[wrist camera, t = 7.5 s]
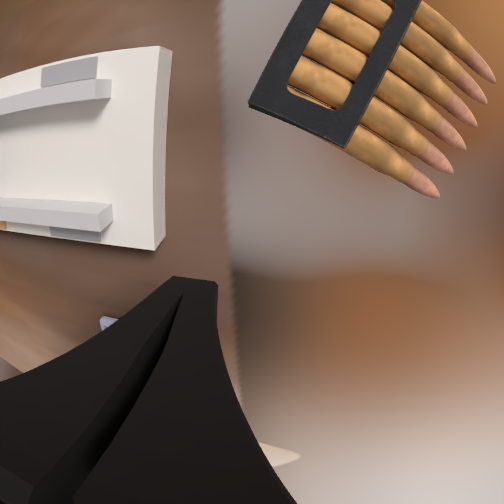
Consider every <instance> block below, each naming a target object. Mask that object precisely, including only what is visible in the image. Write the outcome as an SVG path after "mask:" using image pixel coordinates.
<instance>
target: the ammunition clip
mask: <svg viewBox="0 0 504 504" xmlns="http://www.w3.org/2000/svg"><path fill="white" fill-rule="evenodd" d="M444 47H445V48H446V49H448V50H450V51H451V52H453V53H454V54H455V55H456V56H457V57H458V58H460V59H461V60H463V61H464V62H465V63H466V64H467V65H468V66H469V67H470V68H471V69H473V70H474V71H475V72H476V73H477V74H479V75H480V76H482V77H483V78H484V79H486V80H487V81H489V82H491V83H494V84H496V79H495V77H494V75H493V73H492V71H491V69H490V68H489V66H488V65H487V63H486V62H485V61H484V60H483V58H482V57H481V56H480V55H479V54H478V53H477V52H476V51H475V50H474V49H473V48H472V46H471V45H470V44H469V43H468V42H467V41H466V40H465V39H464V38H463V37H462V36H461V34H460V33H459V32H458V31H457V29H456V28H455V27H454V26H453V25H452V24H450V23H449V22H448V21H447V20H446V19H445V18H443V17H442V16H441V15H440V14H439V13H437V12H436V11H435V10H434V9H432V8H431V7H429V6H428V5H427V4H426V3H425V2H423V1H422V0H302V1H301V3H300V5H299V6H298V8H297V10H296V12H295V13H294V15H293V17H292V19H291V20H290V22H289V24H288V26H287V27H286V29H285V31H284V33H283V35H282V37H281V39H280V40H279V42H278V44H277V46H276V48H275V50H274V51H273V53H272V55H271V57H270V59H269V61H268V63H267V65H266V67H265V69H264V71H263V72H262V74H261V77H260V78H259V80H258V82H257V84H256V86H255V88H254V90H253V92H252V94H251V96H250V99H249V100H248V103H249V107H250V108H252V109H255V110H257V111H260V112H263V113H265V114H267V115H270V116H272V117H275V118H278V119H280V120H282V121H284V122H287V123H289V124H292V125H294V126H296V127H298V128H301V129H303V130H305V131H307V132H309V133H311V134H313V135H315V136H317V137H318V138H320V139H322V140H324V141H326V142H328V143H330V144H332V145H333V146H335V147H337V148H339V149H341V150H342V151H344V152H346V153H348V154H349V155H351V156H353V157H355V158H356V159H358V160H360V161H362V162H363V163H365V164H367V165H369V166H370V167H372V168H373V169H375V170H377V171H379V172H381V173H383V174H386V175H389V176H391V177H393V178H394V179H396V180H398V181H400V182H402V183H404V184H405V185H407V186H408V187H410V188H411V189H413V190H415V191H417V192H419V193H421V194H423V195H426V196H429V197H432V198H439V197H440V195H439V192H438V190H437V188H436V187H435V186H434V184H433V183H432V182H431V181H430V180H429V179H428V178H427V177H426V176H425V175H424V174H423V173H422V172H421V171H420V170H418V169H417V168H416V167H415V166H413V165H412V164H411V163H410V162H409V161H408V160H406V159H405V158H404V157H402V156H401V155H400V154H399V153H398V152H397V150H396V149H395V148H393V147H392V146H391V145H390V144H388V143H387V142H385V141H384V140H382V139H381V138H379V137H378V136H376V135H375V134H373V133H372V132H370V131H368V130H367V129H365V128H364V127H362V126H360V125H359V123H361V124H362V125H364V126H365V127H367V128H369V129H370V130H372V131H373V132H375V133H377V134H378V135H380V136H381V137H383V138H384V139H386V140H388V141H389V142H390V143H392V144H394V145H396V146H398V147H401V148H403V149H405V150H407V151H408V152H410V153H411V154H413V155H414V156H417V157H418V158H419V159H421V160H422V161H424V162H425V163H427V164H428V165H430V166H432V167H433V168H435V169H437V170H439V171H441V172H444V173H447V174H453V173H454V171H453V168H452V166H451V164H450V163H449V161H448V160H447V159H446V157H445V156H444V155H443V154H442V153H441V152H440V151H439V149H437V148H436V147H435V146H434V145H433V144H432V143H431V142H429V141H428V140H427V138H425V137H424V136H423V135H422V134H420V133H419V132H418V131H417V130H416V129H415V127H414V126H413V125H412V124H411V123H410V122H409V121H408V120H406V119H405V118H404V117H402V116H401V115H400V114H398V113H397V112H396V111H394V110H393V109H391V108H390V107H388V106H387V105H385V104H384V103H382V102H381V101H379V100H378V99H376V98H375V97H373V96H376V97H378V98H379V99H381V100H382V101H384V102H385V103H387V104H388V105H390V106H391V107H393V108H394V109H396V110H397V111H399V112H400V113H401V114H403V115H404V116H406V117H407V118H409V119H411V120H413V121H415V122H417V123H419V124H421V125H422V126H424V127H425V128H426V129H428V130H430V131H431V132H432V133H433V134H435V135H436V136H437V137H439V138H440V139H442V140H443V141H445V142H446V143H448V144H449V145H451V146H453V147H455V148H457V149H460V150H464V151H465V150H466V146H465V143H464V141H463V139H462V138H461V136H460V135H459V133H458V132H457V131H456V130H455V128H454V127H453V126H452V125H451V124H450V123H449V122H448V121H447V120H446V119H445V118H443V117H442V116H441V115H440V113H439V112H438V111H437V110H435V109H434V108H433V107H432V106H431V105H430V104H429V103H428V102H427V100H426V99H425V98H424V97H423V96H422V95H421V94H420V93H419V92H421V93H422V94H424V95H426V96H428V97H430V98H431V99H433V100H434V101H435V102H437V103H438V104H439V105H441V106H442V107H444V108H445V109H446V110H447V111H448V112H449V113H451V114H452V115H454V116H455V117H456V118H458V119H459V120H461V121H462V122H464V123H466V124H468V125H470V126H472V127H477V122H476V120H475V118H474V116H473V114H472V113H471V111H470V110H469V109H468V107H467V106H466V105H465V103H464V102H463V101H462V100H461V99H460V98H459V97H458V96H457V95H456V94H455V93H454V92H453V91H452V90H451V89H450V88H449V87H448V86H447V85H446V84H445V83H444V82H443V81H442V80H441V79H440V78H439V76H438V75H437V74H436V73H435V72H434V71H433V70H432V69H434V70H436V71H438V72H439V73H441V74H442V75H444V76H445V77H446V78H447V79H449V80H450V81H451V82H453V83H454V84H455V85H456V86H457V87H459V88H460V89H461V90H462V91H463V92H465V93H466V94H467V95H469V96H470V97H471V98H473V99H474V100H476V101H478V102H480V103H482V104H484V105H487V104H488V102H487V99H486V97H485V95H484V93H483V92H482V90H481V88H480V87H479V86H478V84H477V83H476V82H475V81H474V79H473V78H472V77H471V76H470V75H469V74H468V73H467V72H466V71H465V70H464V69H463V67H462V66H461V65H460V64H459V63H458V62H457V61H455V59H454V58H453V57H452V56H451V55H450V53H449V52H448V51H447V50H446V49H445V48H444ZM413 54H414V55H413ZM302 55H303V56H305V57H307V58H309V59H311V60H313V61H315V62H317V63H319V64H321V65H323V66H325V67H327V68H328V69H330V70H332V71H334V72H336V73H338V74H339V75H341V76H343V77H345V78H347V79H348V80H346V79H344V78H342V77H341V76H339V75H337V74H335V73H333V72H332V71H330V70H328V69H326V68H324V67H323V66H321V65H319V64H317V63H315V62H313V61H311V60H309V59H307V58H305V57H303V56H302ZM417 57H418V58H417ZM422 61H423V62H422ZM426 64H427V65H426ZM430 67H431V68H432V69H431V68H430ZM387 69H388V70H387ZM390 71H391V72H390ZM393 73H394V74H395V75H394V74H393ZM397 76H398V77H397ZM400 78H401V79H402V80H401V79H400ZM403 80H404V81H405V82H404V81H403ZM407 83H408V84H409V85H408V84H407ZM287 84H288V85H290V86H292V87H294V88H296V89H298V90H300V91H302V92H304V93H306V94H308V95H310V96H312V97H314V98H316V99H318V100H320V101H322V102H323V103H325V104H327V105H329V106H331V108H330V107H328V106H326V105H324V104H323V103H321V102H319V101H317V100H315V99H313V98H311V97H309V96H307V95H306V94H304V93H302V92H300V91H298V90H296V89H294V88H292V87H289V86H288V85H287ZM411 86H412V87H413V88H414V89H413V88H412V87H411ZM415 89H416V90H417V91H419V92H417V91H416V90H415Z"/></svg>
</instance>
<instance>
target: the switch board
mask: <svg viewBox="0 0 504 504" xmlns="http://www.w3.org/2000/svg"><path fill="white" fill-rule="evenodd" d="M172 53H173V52H172V51H170V50H168V49H166V48H163V47H161V46H152V47H141V48H131V49H123V50H115V51H108V52H102V53H96V54H90V55H85V56H80V57H75V58H71V59H66V60H62V61H58V62H53V63H50V64H46V65H42V66H38V67H35V68H32V69H28V70H25V71H22V72H19V73H16V74H13V75H10V76H7V77H4V78H1V79H0V230H5V231H12V232H19V233H26V234H33V235H41V236H48V237H55V238H63V239H70V240H77V241H85V242H92V243H100V244H108V245H115V246H123V247H131V248H138V249H146V250H154V251H155V250H156V248H157V247H158V245H159V244H160V243H161V241H162V240H163V239H164V237H165V236H166V232H165V160H166V132H167V113H168V97H169V84H170V73H171V62H172Z"/></svg>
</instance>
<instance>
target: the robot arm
mask: <svg viewBox="0 0 504 504" xmlns="http://www.w3.org/2000/svg"><path fill="white" fill-rule="evenodd" d="M217 301H218V285H217V284H216V283H215V281H207V280H199V279H192V278H185V277H177V276H172V277H171V278H170V279H169V280H167V281H166V282H165V283H163V284H162V285H161V286H160V287H159V288H157V289H156V290H155V291H154V292H152V293H151V294H150V295H149V296H148V297H146V298H145V299H144V300H143V301H141V302H140V303H139V304H138V305H136V306H135V307H134V308H133V309H131V310H130V311H129V312H128V313H126V314H125V315H124V316H122V317H121V318H120V319H115V318H111V317H106V316H103V317H102V318H101V319H100V325H101V329H102V331H101V332H100V333H98V334H97V335H95V336H94V337H92V338H91V339H89V340H88V341H86V342H84V343H83V344H81V345H79V346H77V347H76V348H74V349H72V350H71V351H69V352H67V353H65V354H63V355H61V356H59V357H57V358H55V359H53V360H51V361H49V362H47V363H45V364H43V365H41V366H39V367H37V368H35V369H32V370H30V371H28V372H25V373H23V374H20V375H18V376H15V377H13V378H10V379H7V380H4V381H1V382H0V504H297V503H296V502H295V500H294V499H293V497H292V496H291V495H290V493H289V492H288V490H287V489H286V488H285V486H284V485H283V483H282V482H281V480H280V479H279V477H278V476H277V474H276V473H275V471H274V470H273V468H272V466H271V465H270V463H269V461H268V459H267V458H266V456H265V454H264V453H263V451H262V449H261V447H260V446H259V444H258V442H257V440H256V438H255V436H254V434H253V432H252V430H251V428H250V426H249V424H248V422H247V420H246V417H245V415H244V413H243V411H242V409H241V406H240V404H239V402H238V399H237V397H236V394H235V391H234V389H233V386H232V383H231V380H230V377H229V374H228V371H227V368H226V364H225V361H224V357H223V353H222V349H221V345H220V340H219V335H218V329H217Z"/></svg>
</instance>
